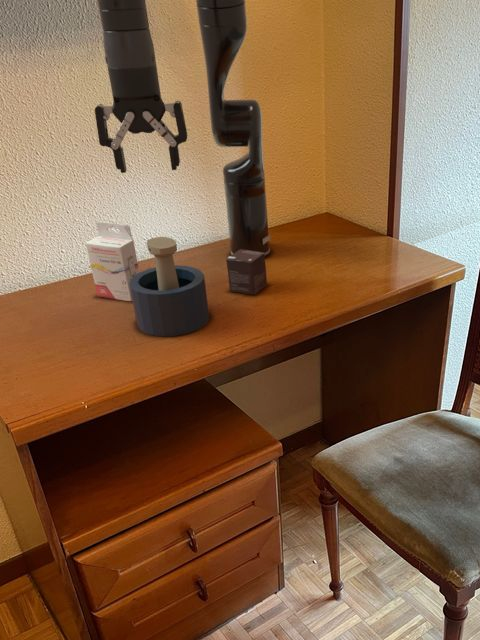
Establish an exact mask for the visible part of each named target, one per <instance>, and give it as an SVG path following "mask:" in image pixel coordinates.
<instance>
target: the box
mask: <svg viewBox="0 0 480 640" xmlns="http://www.w3.org/2000/svg"><path fill="white" fill-rule="evenodd" d="M225 260H226V261H225V262H226V269H227V277H228V285H229V291H230V292H233V293H240V294H247V295H253V296H254V295H256V294H258V293H259V292H260V291H261V290H262V289H264V288H265V287H266V286H267V285H268V280H267V279H268V277H267V268H266V256H265V253H264V252H256V251H249V250H243V249H240V250H238V251H237V252H236V253H234V254H233V255H231V254H230V256H228V257H227V258H226V259H225Z"/></svg>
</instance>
